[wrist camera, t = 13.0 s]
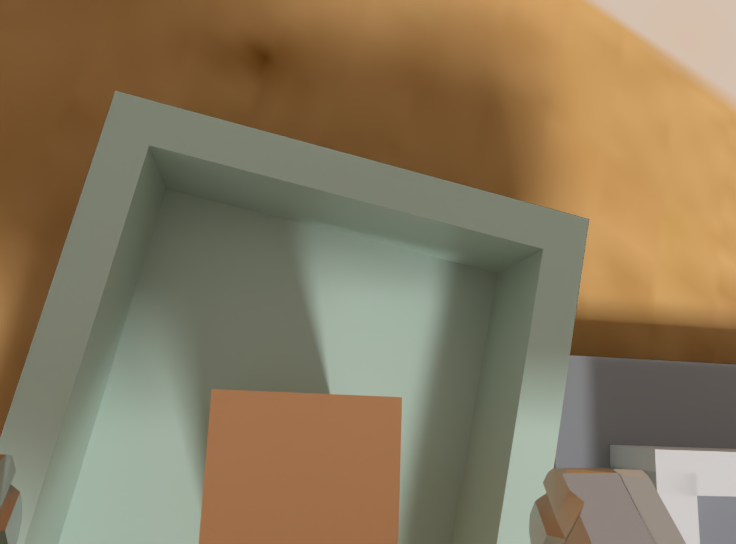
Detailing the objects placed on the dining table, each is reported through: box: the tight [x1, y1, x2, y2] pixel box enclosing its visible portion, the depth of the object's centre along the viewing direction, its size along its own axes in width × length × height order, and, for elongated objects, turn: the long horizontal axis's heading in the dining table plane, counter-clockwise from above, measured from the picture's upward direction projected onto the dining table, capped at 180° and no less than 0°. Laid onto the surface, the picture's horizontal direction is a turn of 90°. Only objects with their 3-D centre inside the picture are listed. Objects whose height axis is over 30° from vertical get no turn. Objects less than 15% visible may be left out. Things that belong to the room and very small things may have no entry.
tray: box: [0, 91, 589, 544], centre depth 15 cm, size 11×15×4 cm
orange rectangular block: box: [199, 389, 402, 544], centre depth 12 cm, size 2×4×8 cm, turn 177°
